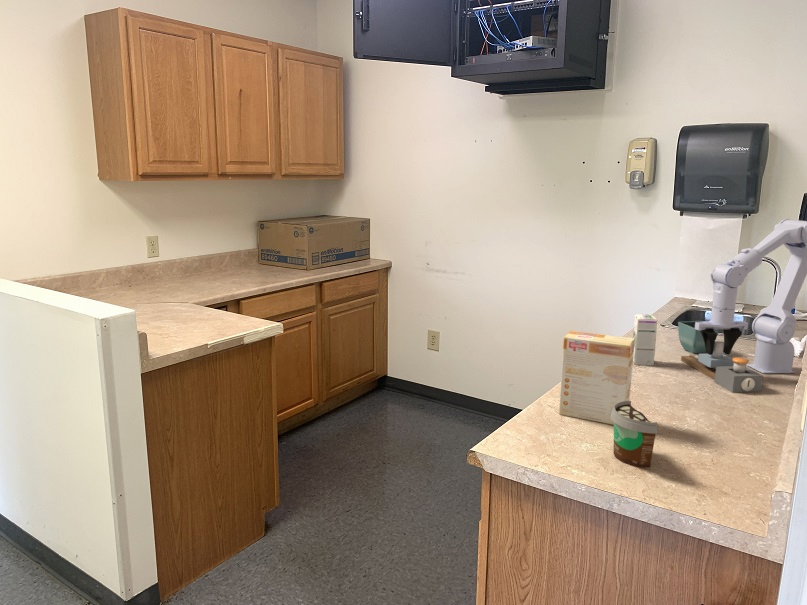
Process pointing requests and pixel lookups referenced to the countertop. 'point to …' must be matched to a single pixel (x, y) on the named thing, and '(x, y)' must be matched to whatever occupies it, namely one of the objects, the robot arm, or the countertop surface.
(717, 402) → the countertop surface
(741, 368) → the button
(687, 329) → the flower pot
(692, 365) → the rail
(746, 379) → the button box
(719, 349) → the carriage
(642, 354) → the syrup box
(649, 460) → the food container
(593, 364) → the coffeecake box
